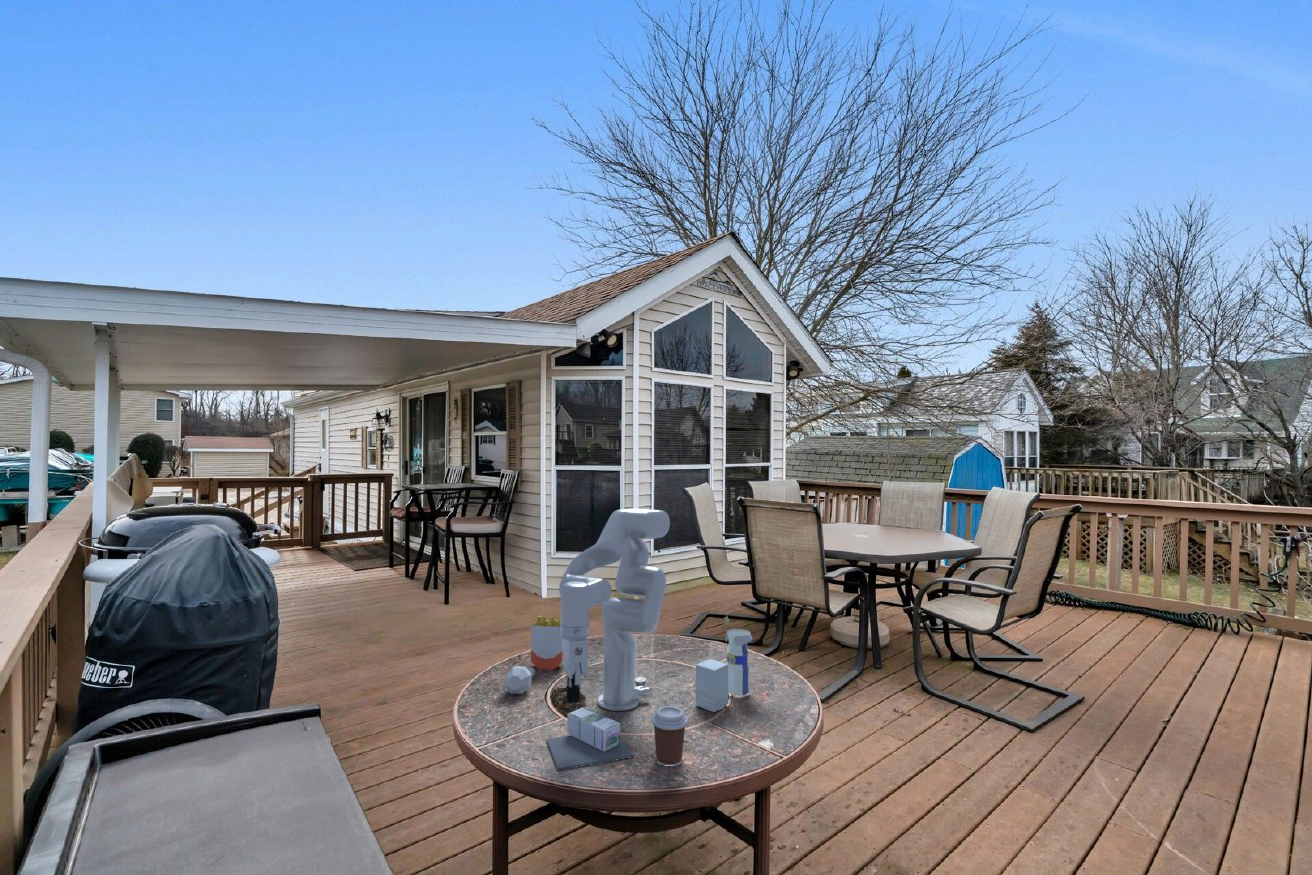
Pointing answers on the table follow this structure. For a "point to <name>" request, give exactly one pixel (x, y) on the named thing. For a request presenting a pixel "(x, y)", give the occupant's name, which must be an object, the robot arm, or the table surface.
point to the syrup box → (593, 729)
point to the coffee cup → (669, 734)
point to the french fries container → (546, 643)
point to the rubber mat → (583, 752)
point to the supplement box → (711, 684)
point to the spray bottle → (738, 660)
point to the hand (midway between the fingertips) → (572, 700)
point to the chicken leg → (518, 679)
